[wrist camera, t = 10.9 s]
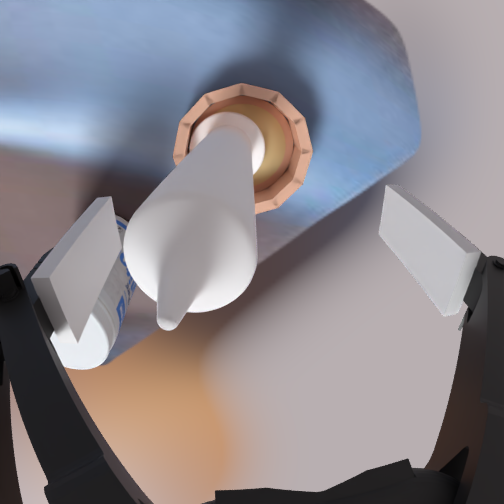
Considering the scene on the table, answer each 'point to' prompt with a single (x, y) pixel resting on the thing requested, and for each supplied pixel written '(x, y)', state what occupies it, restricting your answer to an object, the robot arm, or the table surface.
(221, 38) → the table surface
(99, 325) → the supplement tub
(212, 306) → the candle
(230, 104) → the jar dish
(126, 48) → the table surface
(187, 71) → the table surface
